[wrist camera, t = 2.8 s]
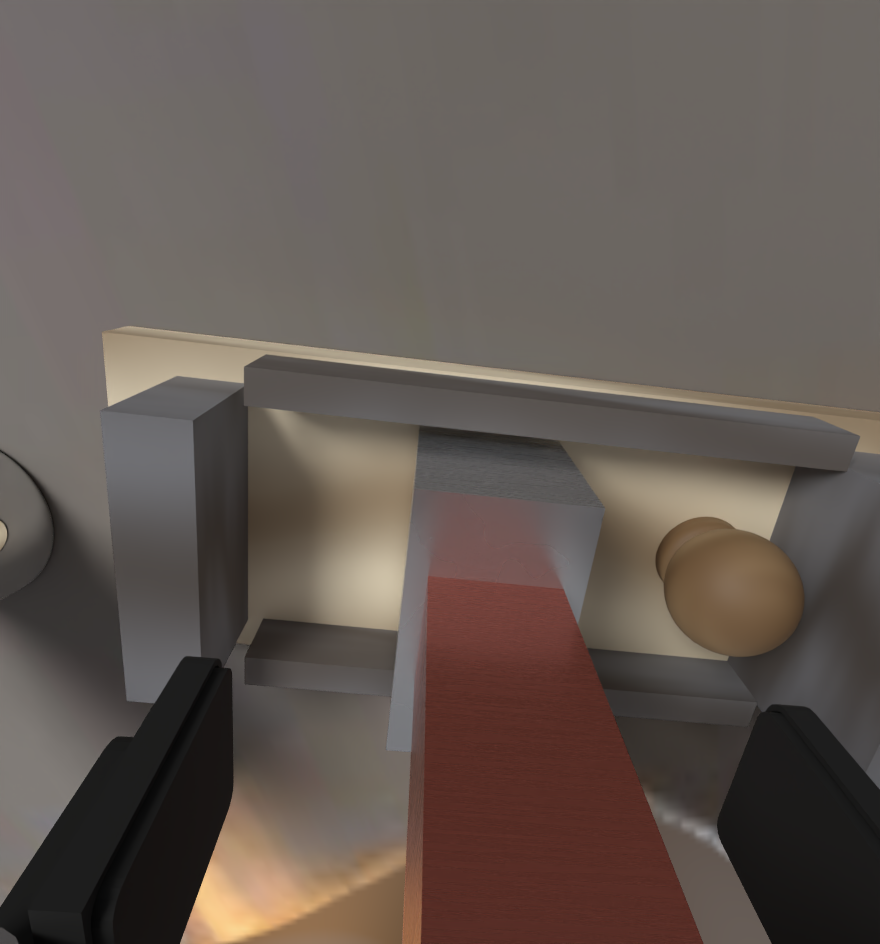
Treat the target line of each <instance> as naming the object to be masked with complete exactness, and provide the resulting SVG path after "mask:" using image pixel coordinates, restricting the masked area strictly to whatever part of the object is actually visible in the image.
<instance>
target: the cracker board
mask: <svg viewBox="0 0 880 944" xmlns="http://www.w3.org/2000/svg"><path fill="white" fill-rule="evenodd" d="M102 337H103V349H104V360H105V372H106V383H107V395H108V407H107V408H105V409H102V410H100V416H101V427H102V437H103V448H104V459H105V470H106V481H107V492H108V503H109V514H110V524H111V535H112V546H113V557H114V568H115V579H116V590H117V601H118V611H119V622H120V633H121V644H122V655H123V666H124V677H125V687H126V698H127V701H133V702H145V703H155V702H156V700H157V699H158V697H159V695H160V694H161V692H162V691H163V689H164V687H165V686H166V684H167V682H168V681H169V679H170V678H171V676H172V674H173V673H174V671H175V669H176V668H177V666H178V665H179V663H180V661H181V660H182V659H183V658H184V657H185V656H193V657H205V658H218V659H220V660H221V662H222V668H223V667H224V665H225V663H226V661H227V659H228V657H229V656H230V654H231V652H232V650H233V648H234V646H235V644H236V643H239V644H250V647H249V649H248V651H247V653H246V656H245V684H249V685H261V686H273V687H284V688H296V689H308V690H319V691H331V692H343V693H354V694H366V695H378V696H389V697H391V693H392V683H393V673H394V662H395V652H396V642H397V632H398V622H399V613H400V604H401V594H402V585H403V576H404V566H405V557H406V548H407V538H408V529H409V520H410V511H411V501H412V492H413V483H414V473H415V464H416V455H417V445H418V436H419V427H420V425H424V426H433V427H442V428H451V429H460V430H470V431H479V432H488V433H497V434H506V435H515V436H524V437H534V438H543V439H552V440H558V441H559V442H560V443H561V445H562V446H563V448H564V449H565V451H566V452H567V454H568V455H569V457H570V458H571V459H572V461H573V462H574V464H575V465H576V467H577V468H578V470H579V471H580V472H581V474H582V475H583V477H584V478H585V480H586V481H587V483H588V484H589V486H590V487H591V488H592V490H593V491H594V493H595V494H596V496H597V497H598V499H599V500H600V501H601V503H602V504H603V506H604V507H605V512H604V517H603V521H602V525H601V529H600V534H599V538H598V542H597V546H596V551H595V555H594V559H593V563H592V567H591V572H590V576H589V580H588V584H587V589H586V593H585V597H584V601H583V606H582V610H581V614H580V618H579V622H578V627H579V629H580V632H581V634H582V637H583V639H584V642H585V645H586V647H587V650H588V652H589V655H590V657H591V660H592V662H593V665H594V667H595V670H596V672H597V675H598V678H599V680H600V683H601V685H602V688H603V690H604V693H605V695H606V698H607V700H608V703H609V705H610V708H611V711H612V713H613V716H623V717H634V718H646V719H658V720H670V721H681V722H693V723H705V724H716V725H728V726H740V727H748V726H749V724H750V721H751V718H752V716H753V713H754V711H755V708H756V706H758V708H759V709H760V710H761V712H765V711H766V710H767V708H768V707H769V706H770V705H772V704H781V705H793V706H805V707H807V708H810V709H811V710H812V711H813V712H814V713H815V714H816V715H817V716H818V717H819V718H820V720H821V721H822V722H823V723H824V724H825V726H826V727H827V728H828V729H829V730H830V731H831V733H832V734H833V735H834V736H835V737H836V738H837V740H838V741H839V742H840V743H841V744H842V746H843V747H844V748H845V749H846V750H847V751H848V753H849V754H850V755H851V756H852V757H853V759H854V760H855V761H856V762H857V763H858V764H859V766H860V767H861V768H862V769H863V770H864V771H865V773H866V774H867V775H868V776H869V777H870V779H871V780H872V781H873V782H874V783H875V784H876V786H877V787H878V788H879V789H880V412H872V411H863V410H854V409H846V408H837V407H828V406H819V405H811V404H802V403H793V402H785V401H776V400H767V399H759V398H750V397H741V396H733V395H724V394H715V393H707V392H698V391H689V390H680V389H672V388H663V387H654V386H646V385H637V384H628V383H620V382H611V381H602V380H594V379H585V378H576V377H568V376H559V375H550V374H541V373H533V372H524V371H515V370H507V369H498V368H489V367H481V366H472V365H463V364H455V363H446V362H437V361H428V360H420V359H411V358H402V357H394V356H385V355H376V354H368V353H359V352H350V351H342V350H333V349H324V348H316V347H307V346H298V345H289V344H281V343H272V342H263V341H255V340H246V339H237V338H229V337H220V336H211V335H203V334H194V333H185V332H176V331H168V330H159V329H150V328H142V327H133V326H127V327H122V328H118V329H113V330H109V331H104V332H102ZM697 517H715V518H719V519H722V520H724V521H726V522H728V523H729V524H731V525H732V526H733V527H734V528H735V529H738V530H744V531H748V532H751V533H755V534H757V535H759V536H761V537H764V538H766V539H768V540H769V541H771V542H772V543H774V544H775V545H776V546H778V547H779V548H780V549H781V550H782V551H783V552H784V553H785V554H786V555H787V556H788V557H789V558H790V560H791V561H792V562H793V564H794V565H795V567H796V569H797V571H798V572H799V575H800V577H801V580H802V583H803V589H804V595H805V601H804V609H803V614H802V617H801V620H800V622H799V624H798V626H797V628H796V629H795V631H794V632H793V634H792V635H791V636H790V637H789V638H788V639H787V640H786V641H785V642H784V643H782V644H781V645H780V646H778V647H776V648H775V649H773V650H771V651H769V652H766V653H763V654H760V655H755V656H749V657H733V656H726V655H721V654H717V653H715V652H712V651H709V650H707V649H705V648H703V647H701V646H700V645H698V644H696V643H695V642H693V641H692V640H691V639H690V638H688V637H687V636H686V635H685V634H684V633H683V632H682V631H681V630H680V629H679V627H678V626H677V625H676V623H675V622H674V620H673V619H672V617H671V615H670V613H669V611H668V608H667V605H666V601H665V597H664V583H663V581H662V580H661V578H660V577H659V575H658V573H657V570H656V564H655V559H656V552H657V549H658V547H659V545H660V543H661V541H662V540H663V538H664V537H665V536H666V534H667V533H668V532H669V531H670V530H672V529H673V528H674V527H676V526H677V525H679V524H680V523H682V522H684V521H687V520H689V519H693V518H697Z"/></svg>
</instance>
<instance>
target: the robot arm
mask: <svg viewBox="0 0 880 944" xmlns="http://www.w3.org/2000/svg"><path fill="white" fill-rule="evenodd" d="M232 793H233V711H232V671H231V669H229V668H222V662H221V660H220V659H218V658H205V657H193V656H185V657H184V658H183V659H182V660H181V661H180V663H179V665H178V666H177V668H176V669H175V671H174V673H173V674H172V676H171V678H170V679H169V681H168V682H167V684H166V686H165V687H164V689H163V691H162V692H161V694H160V695H159V697H158V699H157V700H156V702H155V704H154V705H153V707H152V708H151V710H150V712H149V713H148V715H147V717H146V718H145V720H144V721H143V723H142V725H141V726H140V728H139V730H138V731H137V733H136V734H135V736H134V737H116V738H115V739H113V740H112V741H111V742H110V743H109V744H108V745H107V747H106V748H105V749H104V751H103V752H102V754H101V755H100V757H99V758H98V760H97V761H96V763H95V764H94V766H93V767H92V769H91V770H90V772H89V773H88V775H87V776H86V778H85V779H84V781H83V782H82V784H81V786H80V787H79V789H78V790H77V792H76V793H75V795H74V796H73V798H72V799H71V801H70V802H69V804H68V805H67V807H66V808H65V810H64V811H63V813H62V814H61V816H60V817H59V819H58V820H57V822H56V823H55V825H54V826H53V828H52V829H51V831H50V832H49V834H48V836H47V837H46V839H45V840H44V842H43V843H42V845H41V846H40V848H39V849H38V851H37V852H36V854H35V855H34V857H33V858H32V860H31V861H30V863H29V864H28V866H27V867H26V869H25V870H24V872H23V873H22V875H21V876H20V878H19V879H18V881H17V883H16V884H15V886H14V887H13V889H12V890H11V892H10V893H9V895H8V896H7V898H6V899H5V901H4V902H3V904H2V905H1V907H0V944H180V942H181V939H182V936H183V933H184V931H185V928H186V925H187V922H188V920H189V917H190V914H191V911H192V908H193V906H194V903H195V900H196V897H197V895H198V892H199V889H200V886H201V884H202V881H203V878H204V875H205V873H206V870H207V867H208V864H209V862H210V859H211V856H212V853H213V851H214V848H215V845H216V842H217V840H218V837H219V834H220V831H221V829H222V826H223V823H224V820H225V818H226V815H227V812H228V809H229V806H230V802H231V798H232ZM717 828H718V834H719V838H720V840H721V843H722V845H723V847H724V849H725V851H726V853H727V855H728V857H729V859H730V861H731V863H732V865H733V867H734V869H735V871H736V873H737V875H738V877H739V879H740V881H741V883H742V885H743V887H744V889H745V891H746V893H747V894H748V897H749V899H750V901H751V903H752V905H753V907H754V909H755V911H756V913H757V915H758V917H759V919H760V921H761V923H762V925H763V927H764V929H765V931H766V933H767V935H768V937H769V939H770V941H771V943H772V944H880V789H879V788H878V787H877V786H876V784H875V783H874V782H873V781H872V780H871V779H870V777H869V776H868V775H867V774H866V773H865V771H864V770H863V769H862V768H861V767H860V766H859V764H858V763H857V762H856V761H855V760H854V759H853V757H852V756H851V755H850V754H849V753H848V751H847V750H846V749H845V748H844V747H843V746H842V744H841V743H840V742H839V741H838V740H837V738H836V737H835V736H834V735H833V734H832V733H831V731H830V730H829V729H828V728H827V727H826V726H825V724H824V723H823V722H822V721H821V720H820V718H819V717H818V716H817V715H816V714H815V713H814V712H813V711H812V710H811V709H810V708H807V707H805V706H793V705H781V704H772V705H770V706H769V707H768V708H767V710H766V711H765V712H762V713H760V714H759V716H758V718H757V720H756V723H755V725H754V728H753V730H752V733H751V735H750V738H749V740H748V743H747V745H746V748H745V751H744V753H743V756H742V758H741V761H740V763H739V766H738V768H737V771H736V773H735V776H734V779H733V781H732V784H731V786H730V789H729V791H728V794H727V796H726V799H725V801H724V804H723V806H722V809H721V812H720V814H719V817H718V822H717Z"/></svg>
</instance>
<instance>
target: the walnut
mask: <svg viewBox="0 0 880 944" xmlns="http://www.w3.org/2000/svg"><path fill="white" fill-rule="evenodd" d="M655 564H656V570H657V573H658V575H659V577H660V578H661V580H662V581H663V583H664V597H665V601H666V605H667V608H668V611H669V613H670V615H671V617H672V619H673V620H674V622H675V623H676V625H677V626H678V627H679V629H680V630H681V631H682V632H683V633H684V634H685V635H686V636H687V637H688V638H690V639H691V640H692V641H693V642H695V643H696V644H698V645H700V646H701V647H703V648H705V649H707V650H709V651H712V652H715V653H717V654H721V655H726V656H733V657H749V656H755V655H760V654H763V653H766V652H769V651H771V650H773V649H775V648H776V647H778V646H780V645H781V644H782V643H784V642H785V641H786V640H787V639H788V638H789V637H790V636H791V635H792V634H793V632H794V631H795V629H796V628H797V626H798V624H799V622H800V620H801V617H802V614H803V609H804V601H805V595H804V589H803V583H802V580H801V577H800V575H799V572H798V571H797V569H796V567H795V565H794V564H793V562H792V561H791V560H790V558H789V557H788V556H787V555H786V554H785V553H784V552H783V551H782V550H781V549H780V548H779V547H778V546H776V545H775V544H774V543H772V542H771V541H769V540H768V539H766V538H764V537H761V536H759V535H757V534H755V533H751V532H748V531H744V530H738V529H735V528H734V527H733V526H732V525H731V524H729V523H728V522H726V521H724V520H722V519H719V518H715V517H697V518H693V519H689V520H687V521H684V522H682V523H680V524H679V525H677V526H676V527H674V528H673V529H672V530H670V531H669V532H668V533H667V534H666V536H665V537H664V538H663V540H662V541H661V543H660V545H659V547H658V549H657V552H656V559H655Z"/></svg>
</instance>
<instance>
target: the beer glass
mask: <svg viewBox="0 0 880 944" xmlns="http://www.w3.org/2000/svg"><path fill="white" fill-rule="evenodd" d="M53 540H54V530H53V522H52V517H51V514H50V511H49V508H48V505H47V503H46V501H45V499H44V497H43V495H42V493H41V492H40V490H39V489H38V487H37V486H36V484H35V483H34V482H33V480H32V479H31V478H30V477H29V475H28V474H27V473H26V472H25V471H24V470H23V469H22V468H21V467H20V466H19V465H18V464H16V463H15V462H14V461H13V460H12V459H10V458H9V457H8V456H6V455H5V454H3V453H2V452H0V600H2V599H4V598H6V597H8V596H10V595H11V594H13V593H15V592H17V591H19V590H20V589H22V588H23V587H25V586H26V585H28V584H29V583H30V582H32V581H33V580H34V579H35V578H36V577H37V576H38V575H39V574H40V572H41V571H42V570H43V568H44V567H45V565H46V563H47V562H48V560H49V557H50V555H51V551H52V547H53Z"/></svg>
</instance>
